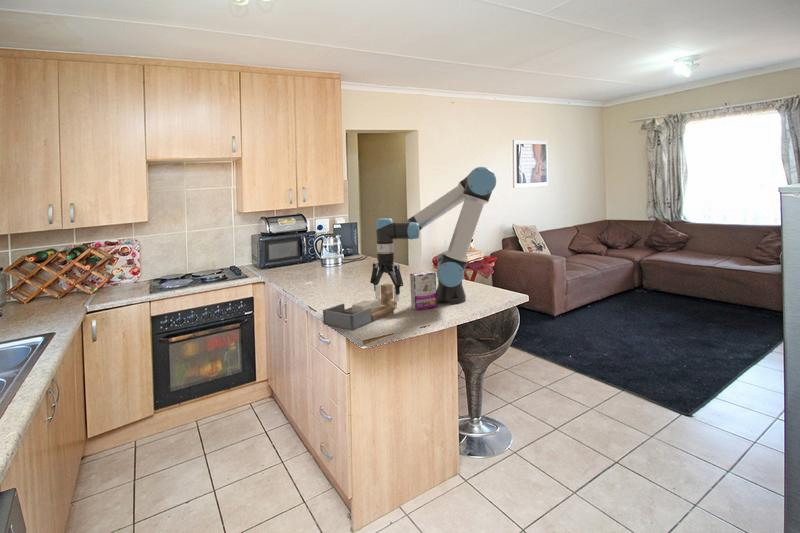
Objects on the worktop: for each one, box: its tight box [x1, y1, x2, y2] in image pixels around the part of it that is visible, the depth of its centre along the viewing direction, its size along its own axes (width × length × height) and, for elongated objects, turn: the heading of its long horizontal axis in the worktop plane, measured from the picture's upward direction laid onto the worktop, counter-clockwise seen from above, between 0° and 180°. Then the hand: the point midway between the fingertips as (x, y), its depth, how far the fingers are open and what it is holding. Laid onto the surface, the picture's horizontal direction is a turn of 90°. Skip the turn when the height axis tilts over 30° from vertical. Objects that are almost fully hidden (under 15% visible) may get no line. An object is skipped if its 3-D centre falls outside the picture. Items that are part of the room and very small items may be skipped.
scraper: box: [378, 283, 398, 310], centre depth 201 cm, size 10×4×11 cm, turn 55°
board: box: [345, 305, 395, 323], centre depth 191 cm, size 16×15×3 cm
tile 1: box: [351, 301, 372, 312], centre depth 187 cm, size 6×6×3 cm
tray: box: [322, 303, 373, 331], centre depth 180 cm, size 16×12×6 cm
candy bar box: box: [409, 270, 438, 311], centre depth 199 cm, size 11×5×16 cm, turn 114°
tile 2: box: [361, 298, 381, 310], centre depth 192 cm, size 6×6×3 cm
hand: (387, 299), depth 202 cm, fingers closed on scraper, 10 cm apart
